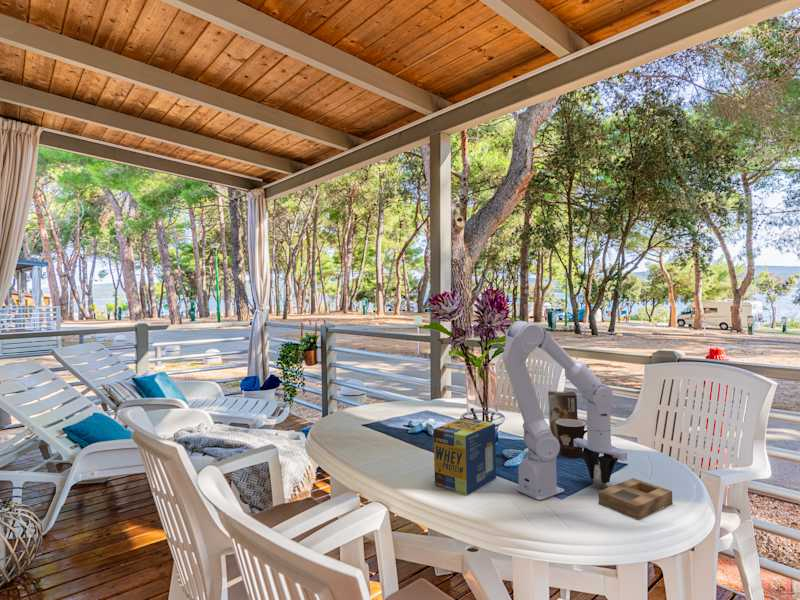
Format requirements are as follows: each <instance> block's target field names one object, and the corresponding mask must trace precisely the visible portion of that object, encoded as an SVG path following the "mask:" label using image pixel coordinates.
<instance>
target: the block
mask: <svg viewBox="0 0 800 600" xmlns="http://www.w3.org/2000/svg"><path fill="white" fill-rule="evenodd" d="M597 494H598V505H600V506H602V507H603V506H604V507H606V508H608V509H611V510H613V511H615V512H618V513H620V514H623V515H626V516H628V517H631V518H632V519H634V520H635V519H636V520H640V519H642V518H645V517H647V516H649V515H651V514H654V513H655V511H656V512H657V510H658V511H659V509H660V510H662V509H664V508H666V507H668V506H670V505H669V504H671V503H672V504H673V491H672V490H669V489H667V488H663V487H661V486H658V485H655V484H652V483H648V482H646V481H642V480H640V479H636V478H633V477H632V478H630V479H627V480H623V481H622V482H619V483H616V484H614V485H611V486H609V487H606V488H605V489H600V490H599V491H598V493H597ZM672 504H671V505H672ZM667 505H668V506H667ZM665 506H666V507H665ZM663 507H664V508H663ZM661 508H662V509H661ZM653 512H654V513H653ZM644 516H645V517H644Z"/></svg>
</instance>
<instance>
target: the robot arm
mask: <svg viewBox="0 0 800 600" xmlns="http://www.w3.org/2000/svg"><path fill="white" fill-rule="evenodd" d="M504 343H505V344H504V348H503V354H502V361H503V365H504V367H505V371H506V373H507V377H508V379H509V381H510V385H511V387H512V391H513V394H514V396H515V399H516V402H517V405H518V408H519V411H520V414H521V417H522V421H523V423H522V428H523V442H524V445H525V446H526V447H527V452H526V457H525V459H523V460H522V461H520V463H519V464H518V467H517V468H518V469H517V471H518V474H517V475H518V477H517V478H518V487H516V488H515V489H516V491H517V492H519V493H522V494H524V495H527V496H528V497H531V498H533V499H535V500H538V501H542V500H545V499H547V498H550V497H553V496H555V495H559V494H561V493H564V492H565V489H564V488H562V487H560V486H558V485H557V479H558V478H557V457H558V455H560V444H559V441H558V440H557V439H556V438H555V437H554V436H553V434H552V432H551V429H550V427H549V424H548V423H547V421H546V420H545V418H544V415H543V412H542V409H541V406H540V402H539V400H538V397H537V394H536V390H535V388H534V385H533V381H532V379H531V376H530V373H529V369H528V367H527V365H526V361H527V359H528V358H529V356H530V355H531V353H532V352H534V350H536V349H537V348H538V349H540V350H543V352H545V353H546V354H547V355H548V356H549V357H550V358H552V360H553V361H555V362H556V363H557V364H558V365H559V366H560V367H562V368H563V369H564V376H565V378H566V380H568V382H570V383H571V384H572V385H573V386H574V387H575V388H576V389H577V390H578V391H579V392H580V393H581V395H582V396H581V397H583V399H584V400H586V430H587V432H586V433H587V434H586V435H587V436H586V437H587V438H586V439H585V438H583V439H580V438H576V439H574V446H575V447H581V448H583V449H582V451H581V457H582V459H583V461H584V463H585V465H586V467H587V468H586V469H587V471H588V475H589V478H590V479H591V480H594V472H593V463H594V462H600V466H601V475H602V483H604V484H606V485H607V484H608V483H610V481H611V477H612V476H611V475H612V473H613V470H614V467H615V466H616V464H617V462H618V461H620V462H624V461H627V460H628V452H627V451H625V450H622V449H620V448H619V447H616V446H614V445H612V437H611V436H612V430H611V429H612V428H611V424H612V423H611V410H612V409H611V408H612V405H613V404H614V402H615V399H616V395H615V394H614V393H613V389H612V388H611V387H610V386H608V384H607V385H606V384H605V383H602V381H603V379H602V378H601V377H600V376H596V374H594V372H593V371H592V370H590V369H589V368H590V365H589V364H588V363H586V362H582V361H577V360H576V361H575V360H574V359H573V358H572V357H571V355H569V353H568V352H567V351H566V350H565V349H564V347H562V346H561V345H560V344H559V343H558V342H557V340H556V339H554V337H553V336H552V335H551V333H550V332H548V331H547V330H546V329H543V327H542V326H541V324H539V323H537V322H531V321H530V322H529V321H524V320H516V321H514V322H512V323H511V325H509V327H508V329H507V330H506V332H505V342H504ZM600 454H601V455H600Z"/></svg>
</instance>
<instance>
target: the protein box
mask: <svg viewBox="0 0 800 600" xmlns="http://www.w3.org/2000/svg"><path fill="white" fill-rule="evenodd" d="M496 445H497V444H496V423H495V422H489V421H485V420H480V419H475V418H470V417H462V418H459V419H457V420H454V421H451V422H447V423H446V424H444V425H441V426H439V427H438V426H437V427H435V428H433V456H434V457H433V461H434V462H433V463H434V464H433V465H434V467H433V468H434V469H433V470H434V486H435V485H436V486H435V487H439V488H442V489H445V490H449V491H451V492H454V493H458V494H460V495H464V496H468V495H470V494H471V493H474V492H475V491H476V490H478V489H480V488H481V487H484V486H485V485H486V484H489V483H490V482H492V481H493V480H495V479H496V478H497V453H496V452H497V451H496Z"/></svg>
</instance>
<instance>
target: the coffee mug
mask: <svg viewBox="0 0 800 600" xmlns="http://www.w3.org/2000/svg"><path fill="white" fill-rule="evenodd" d="M585 426H586V423H585V422H584V421H582V420H579V419H578V420H573V419H561V420H557V421H556V427H557V434H558V441H559V444H560V451H559V455H561V456H562V457H564V458H567V459H568V458H569V459H570V458H571V459H577V458H581V457H582V456H581V451H583V450H584V448H581V447H575V446H574V439H576V438H580V439H585V438H584V437H585V434H586V433H587V429H585Z"/></svg>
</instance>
